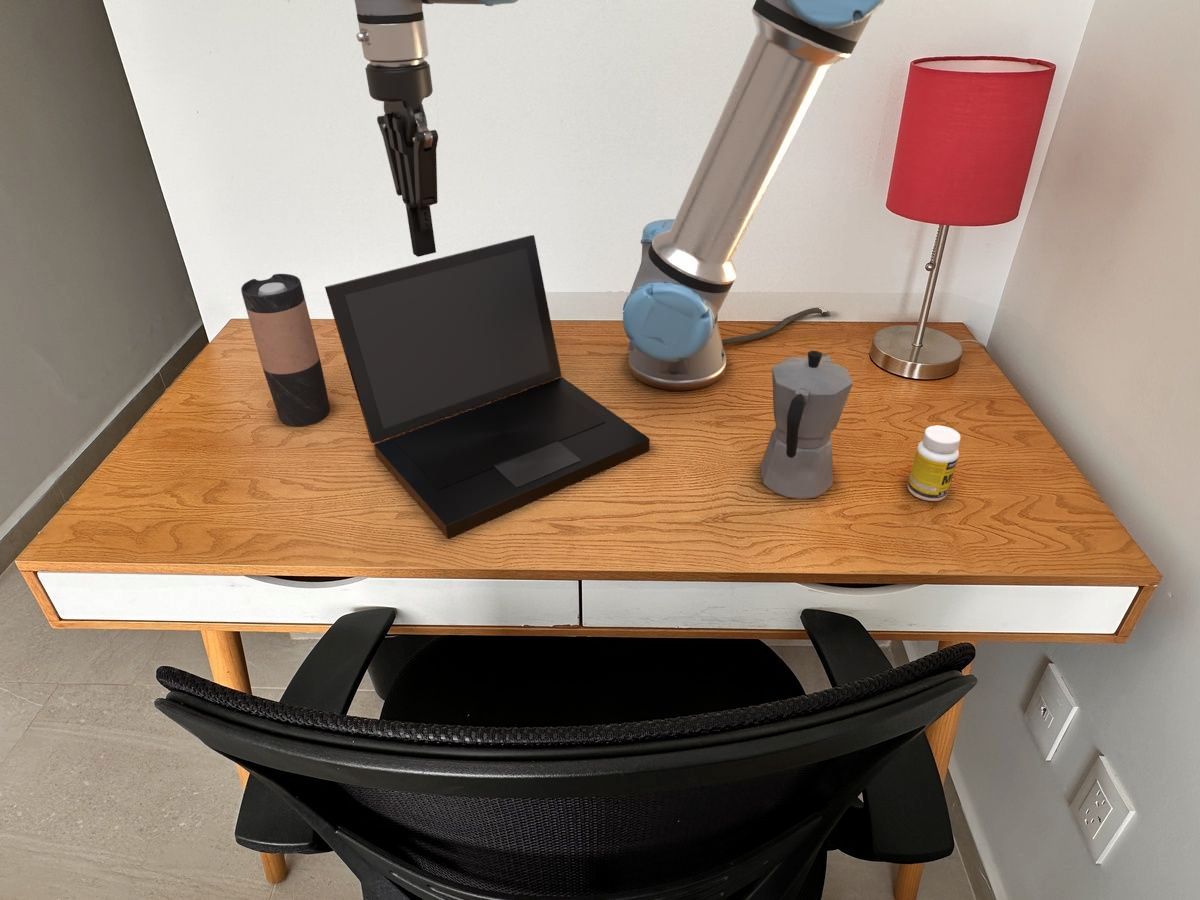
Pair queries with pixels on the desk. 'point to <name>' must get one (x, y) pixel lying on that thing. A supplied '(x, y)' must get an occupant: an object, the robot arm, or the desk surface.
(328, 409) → the travel mug
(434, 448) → the laptop
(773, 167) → the robot arm
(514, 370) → the laptop screen
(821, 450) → the coffeepot
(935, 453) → the supplement bottle
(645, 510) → the desk surface
